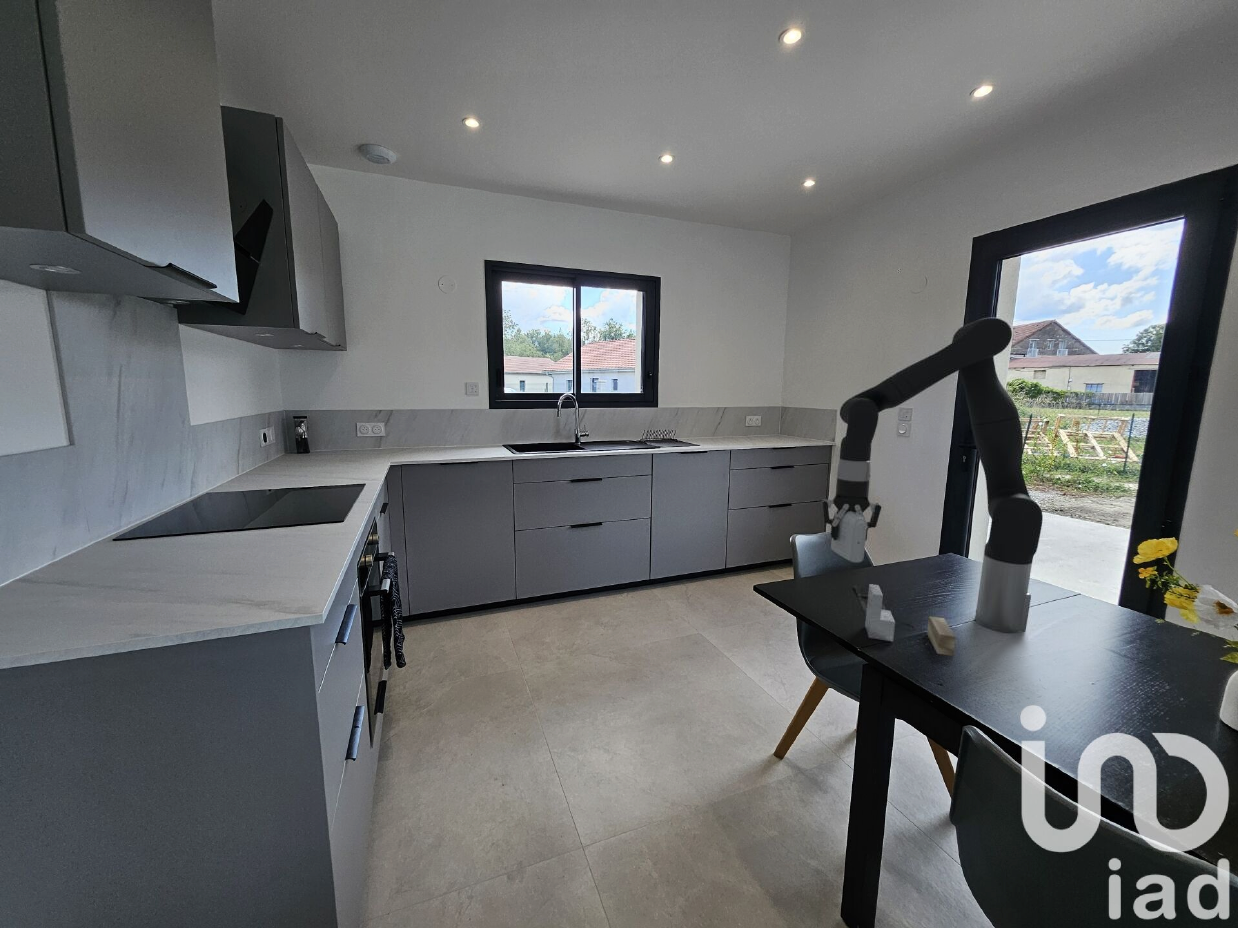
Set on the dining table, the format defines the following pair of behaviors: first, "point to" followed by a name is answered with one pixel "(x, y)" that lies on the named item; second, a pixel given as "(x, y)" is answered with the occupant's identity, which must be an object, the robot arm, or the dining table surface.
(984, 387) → the robot arm
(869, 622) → the clamp jaw
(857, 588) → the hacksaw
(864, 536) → the rounded stone tablet
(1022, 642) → the dining table surface
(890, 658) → the dining table surface
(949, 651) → the block
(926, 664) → the dining table surface
